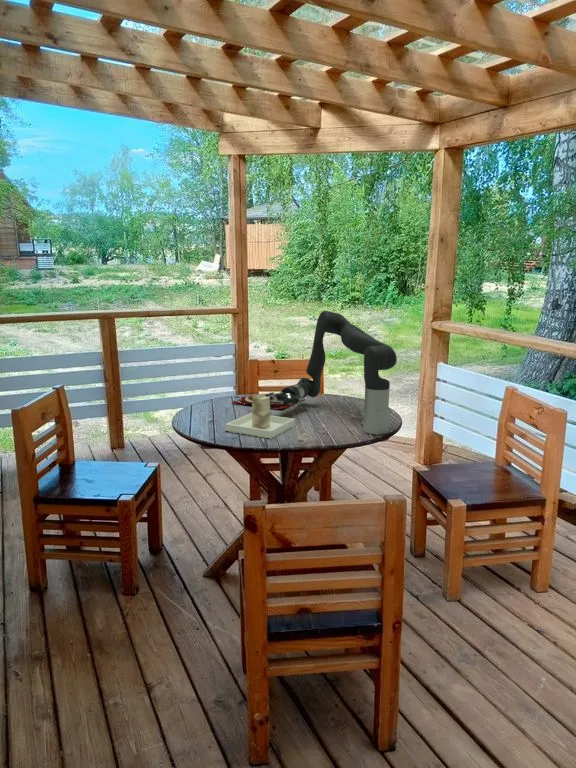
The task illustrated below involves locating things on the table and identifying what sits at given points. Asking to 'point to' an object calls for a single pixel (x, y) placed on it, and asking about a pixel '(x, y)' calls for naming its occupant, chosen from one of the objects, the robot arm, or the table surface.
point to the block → (261, 412)
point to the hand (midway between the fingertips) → (274, 401)
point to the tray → (275, 429)
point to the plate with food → (249, 399)
